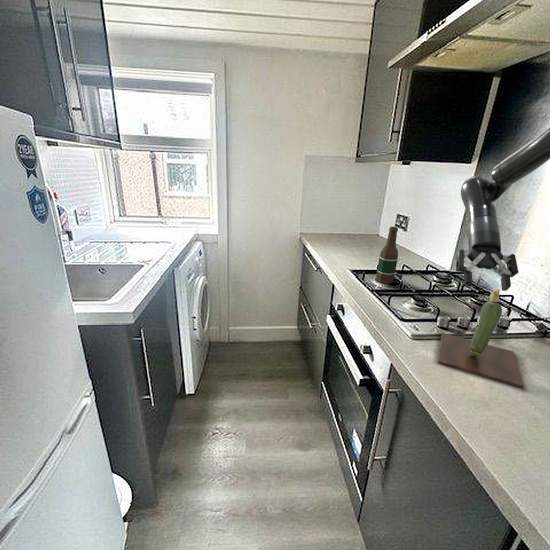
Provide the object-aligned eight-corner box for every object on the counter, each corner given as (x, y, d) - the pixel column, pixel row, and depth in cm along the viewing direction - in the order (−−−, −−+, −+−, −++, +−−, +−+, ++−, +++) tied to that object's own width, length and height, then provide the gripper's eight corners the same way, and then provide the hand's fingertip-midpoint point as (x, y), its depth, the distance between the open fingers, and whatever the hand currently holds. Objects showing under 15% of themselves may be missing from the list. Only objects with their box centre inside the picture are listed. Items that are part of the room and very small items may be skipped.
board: (513, 353, 84) (513, 351, 84) (522, 388, 71) (523, 385, 71) (441, 334, 92) (441, 332, 92) (438, 362, 80) (438, 360, 79)
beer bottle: (371, 280, 133) (380, 226, 124) (380, 276, 138) (389, 224, 129) (388, 285, 128) (398, 230, 119) (397, 281, 133) (407, 227, 124)
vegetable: (471, 348, 85) (491, 283, 77) (488, 356, 82) (512, 288, 74) (465, 354, 82) (485, 287, 75) (482, 362, 79) (506, 293, 72)
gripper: (461, 226, 85) (463, 278, 79) (519, 231, 82) (526, 285, 76) (451, 240, 92) (452, 289, 86) (504, 244, 89) (510, 296, 82)
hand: (487, 287), depth 81 cm, fingers open, 8 cm apart
